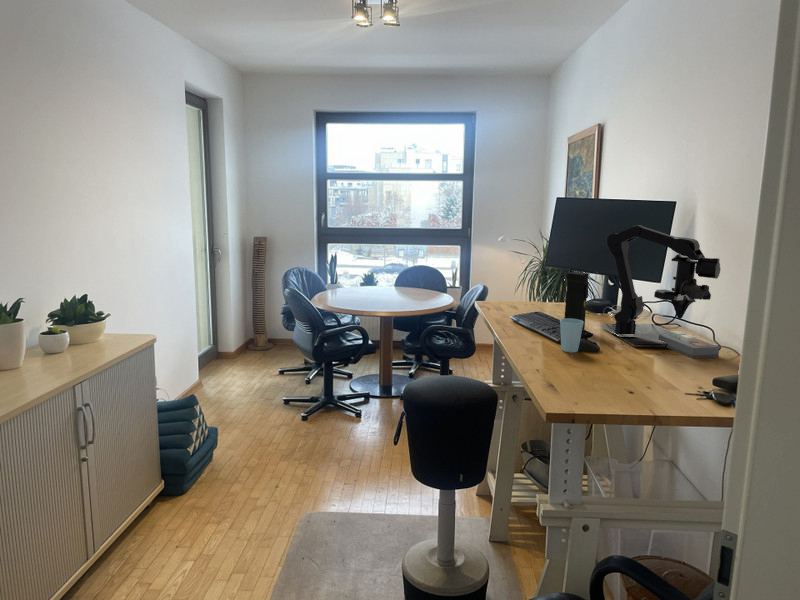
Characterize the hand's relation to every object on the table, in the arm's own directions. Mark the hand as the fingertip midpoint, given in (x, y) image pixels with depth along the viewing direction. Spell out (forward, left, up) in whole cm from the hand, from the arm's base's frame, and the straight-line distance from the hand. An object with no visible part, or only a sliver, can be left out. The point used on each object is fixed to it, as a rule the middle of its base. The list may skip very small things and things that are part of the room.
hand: (679, 318), depth 205 cm
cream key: (0, -6, -8) cm, 9 cm away
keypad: (0, -6, -10) cm, 12 cm away
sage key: (0, 0, -8) cm, 8 cm away
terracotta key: (0, -11, -9) cm, 14 cm away
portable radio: (-25, +27, -10) cm, 39 cm away
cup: (-42, -1, -10) cm, 43 cm away
